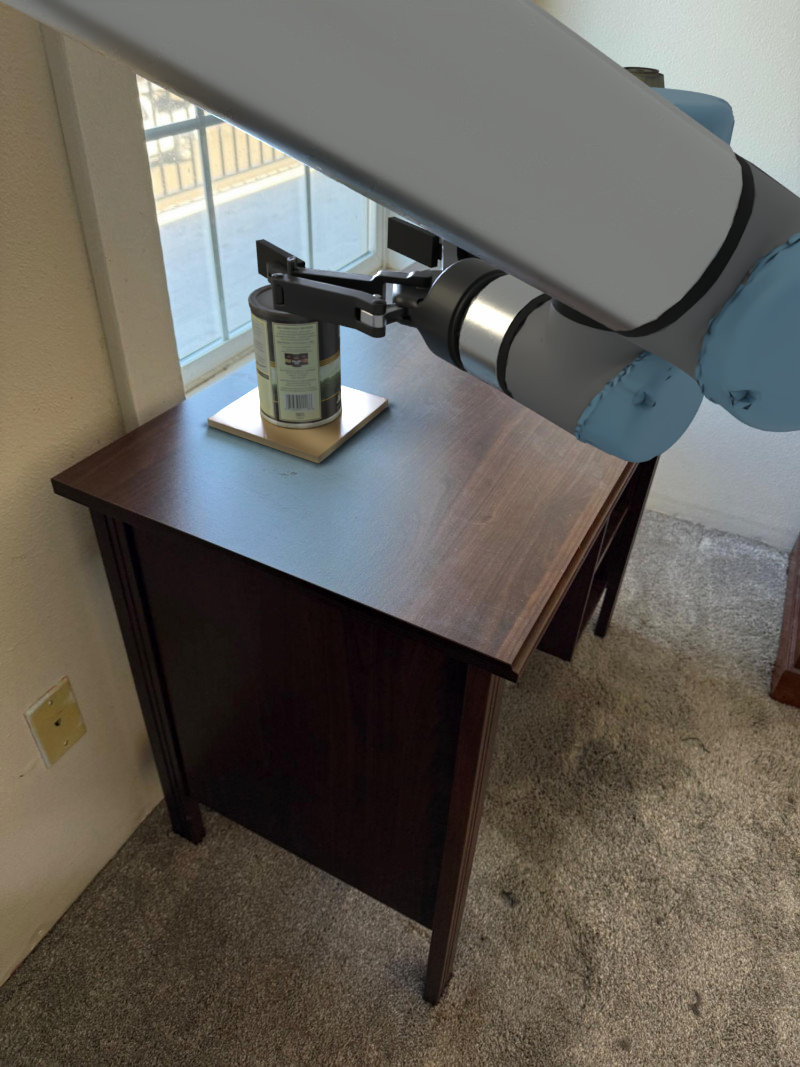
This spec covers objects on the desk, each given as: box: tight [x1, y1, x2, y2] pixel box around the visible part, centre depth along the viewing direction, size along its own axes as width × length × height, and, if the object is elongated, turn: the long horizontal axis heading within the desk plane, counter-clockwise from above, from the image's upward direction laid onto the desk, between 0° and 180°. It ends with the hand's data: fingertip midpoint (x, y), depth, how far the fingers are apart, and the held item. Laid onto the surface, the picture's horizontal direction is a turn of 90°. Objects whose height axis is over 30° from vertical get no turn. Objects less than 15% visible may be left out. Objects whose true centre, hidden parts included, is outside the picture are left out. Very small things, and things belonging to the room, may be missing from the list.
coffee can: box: [247, 283, 342, 429], centre depth 88 cm, size 10×10×14 cm
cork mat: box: [206, 384, 389, 465], centre depth 92 cm, size 16×16×1 cm
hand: (328, 243), depth 66 cm, fingers open, 13 cm apart
